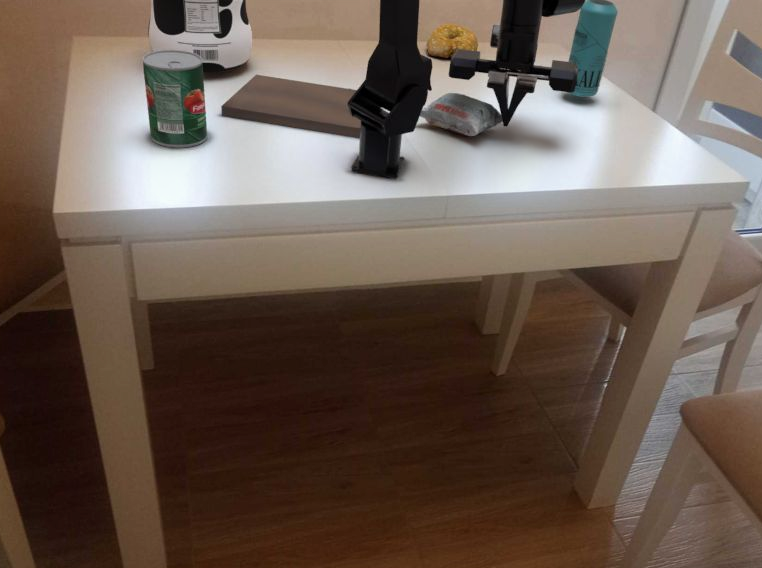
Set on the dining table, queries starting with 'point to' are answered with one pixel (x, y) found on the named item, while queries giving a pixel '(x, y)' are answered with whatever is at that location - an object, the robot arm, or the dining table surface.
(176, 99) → the canned tomato
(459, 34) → the bagel
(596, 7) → the beverage bottle
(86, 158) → the dining table surface
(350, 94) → the bread board
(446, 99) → the packaged food
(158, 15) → the milk container
